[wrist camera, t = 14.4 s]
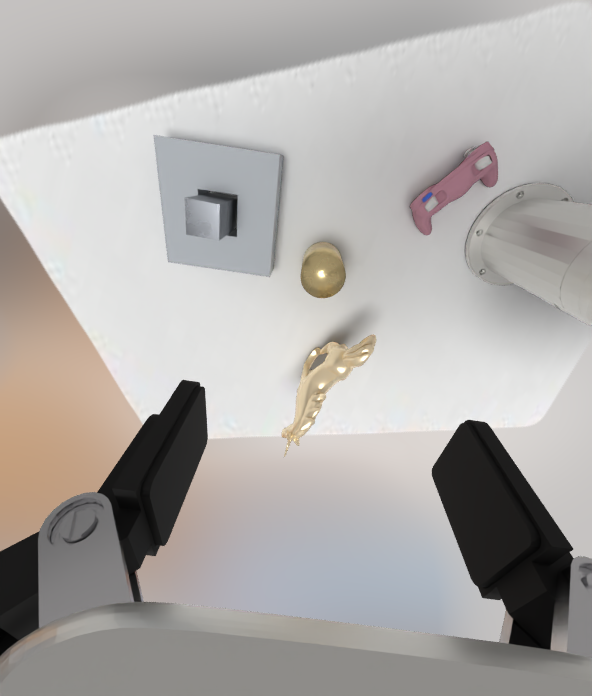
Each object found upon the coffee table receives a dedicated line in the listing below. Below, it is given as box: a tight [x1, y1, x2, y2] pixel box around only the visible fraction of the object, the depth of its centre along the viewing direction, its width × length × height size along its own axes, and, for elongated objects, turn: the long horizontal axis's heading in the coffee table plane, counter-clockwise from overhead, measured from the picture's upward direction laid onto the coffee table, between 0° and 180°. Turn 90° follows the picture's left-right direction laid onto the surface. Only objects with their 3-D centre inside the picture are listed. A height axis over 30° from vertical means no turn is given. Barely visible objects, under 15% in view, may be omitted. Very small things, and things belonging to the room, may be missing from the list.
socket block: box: [154, 135, 283, 277], centre depth 36 cm, size 14×14×4 cm
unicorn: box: [282, 335, 376, 456], centre depth 42 cm, size 20×4×17 cm, turn 141°
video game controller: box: [410, 142, 498, 235], centre depth 33 cm, size 10×5×7 cm, turn 132°
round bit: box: [301, 242, 346, 298], centre depth 38 cm, size 6×6×7 cm
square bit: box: [185, 192, 238, 241], centre depth 34 cm, size 4×4×10 cm
